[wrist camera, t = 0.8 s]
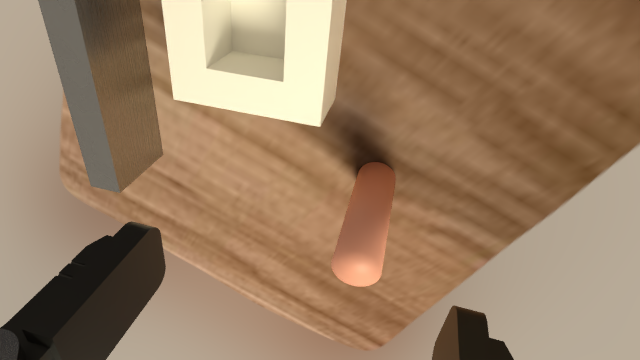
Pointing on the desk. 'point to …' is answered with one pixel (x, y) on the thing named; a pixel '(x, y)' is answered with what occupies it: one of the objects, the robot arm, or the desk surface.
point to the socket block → (256, 55)
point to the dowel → (365, 227)
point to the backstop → (106, 86)
